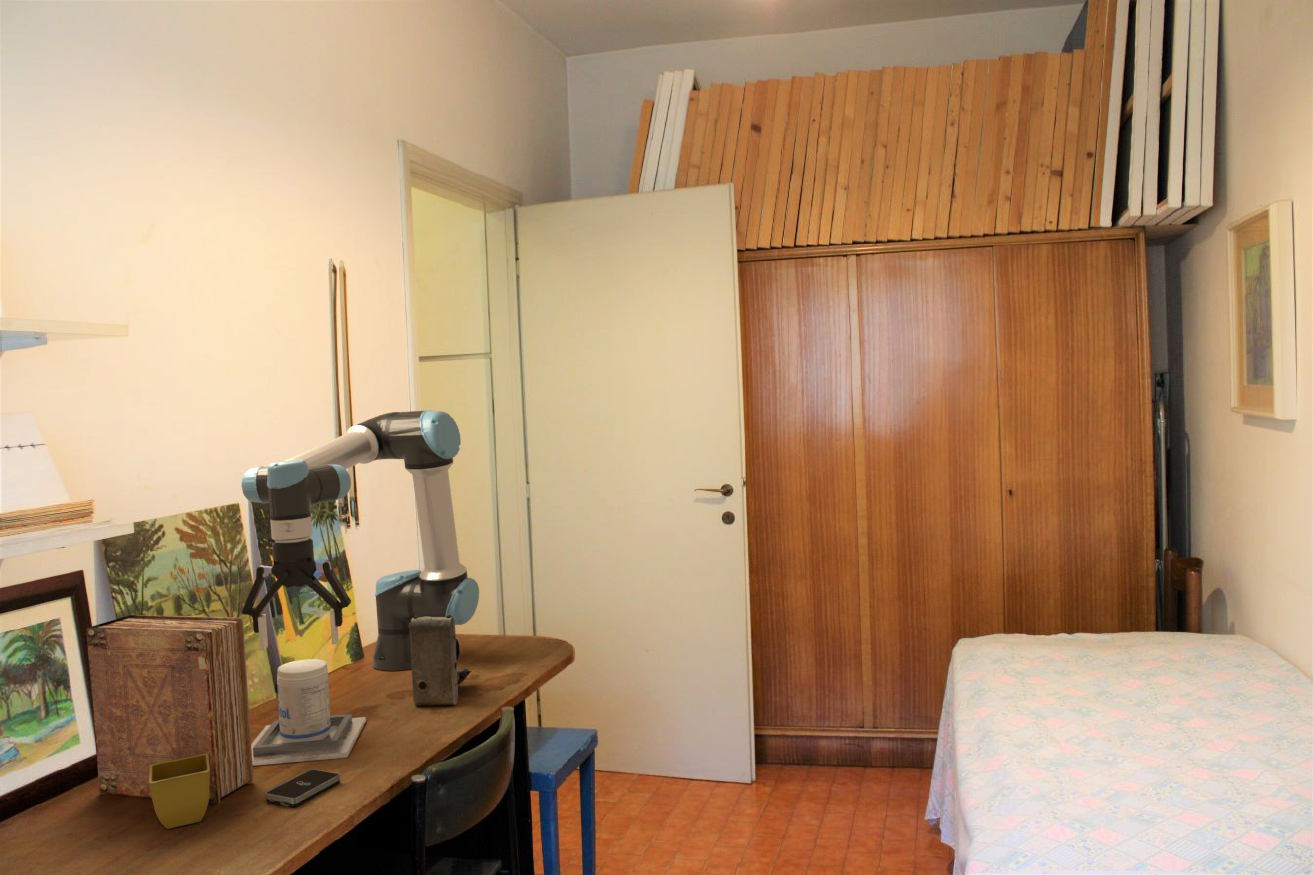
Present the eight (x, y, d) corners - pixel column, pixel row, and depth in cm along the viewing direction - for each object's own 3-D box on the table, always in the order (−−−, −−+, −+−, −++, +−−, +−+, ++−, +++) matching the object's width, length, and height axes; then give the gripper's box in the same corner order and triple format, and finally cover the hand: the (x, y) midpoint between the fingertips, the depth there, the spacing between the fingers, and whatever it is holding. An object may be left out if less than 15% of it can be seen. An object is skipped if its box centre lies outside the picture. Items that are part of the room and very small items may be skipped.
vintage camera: (475, 687, 222) (470, 602, 222) (455, 707, 207) (449, 616, 207) (435, 688, 223) (430, 604, 223) (412, 708, 208) (406, 617, 208)
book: (255, 783, 171) (244, 617, 169) (218, 805, 162) (206, 631, 160) (139, 773, 177) (128, 614, 176) (98, 794, 169) (86, 626, 167)
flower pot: (152, 838, 150) (148, 782, 150) (153, 816, 158) (149, 763, 158) (213, 824, 154) (210, 770, 154) (211, 804, 162) (208, 752, 162)
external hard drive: (264, 804, 162) (263, 793, 162) (312, 779, 172) (312, 768, 172) (295, 810, 159) (294, 798, 159) (342, 784, 169) (341, 773, 169)
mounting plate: (266, 729, 198) (266, 717, 198) (365, 721, 201) (365, 709, 201) (237, 767, 178) (236, 753, 178) (347, 757, 181) (346, 743, 181)
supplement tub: (271, 740, 189) (266, 667, 188) (315, 726, 196) (310, 655, 195) (296, 750, 183) (292, 675, 182) (341, 735, 190) (336, 662, 189)
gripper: (219, 546, 182) (228, 656, 183) (354, 538, 185) (361, 645, 187) (231, 540, 190) (239, 645, 191) (361, 532, 193) (367, 635, 194)
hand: (299, 645), depth 189 cm, fingers open, 13 cm apart
